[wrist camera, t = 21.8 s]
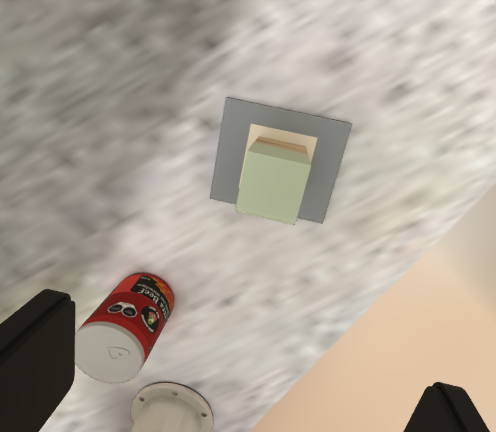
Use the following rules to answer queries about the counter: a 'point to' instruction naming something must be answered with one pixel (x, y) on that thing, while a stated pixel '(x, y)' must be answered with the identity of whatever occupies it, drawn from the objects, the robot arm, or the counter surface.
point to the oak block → (282, 145)
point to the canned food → (123, 329)
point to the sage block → (273, 183)
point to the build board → (287, 130)
